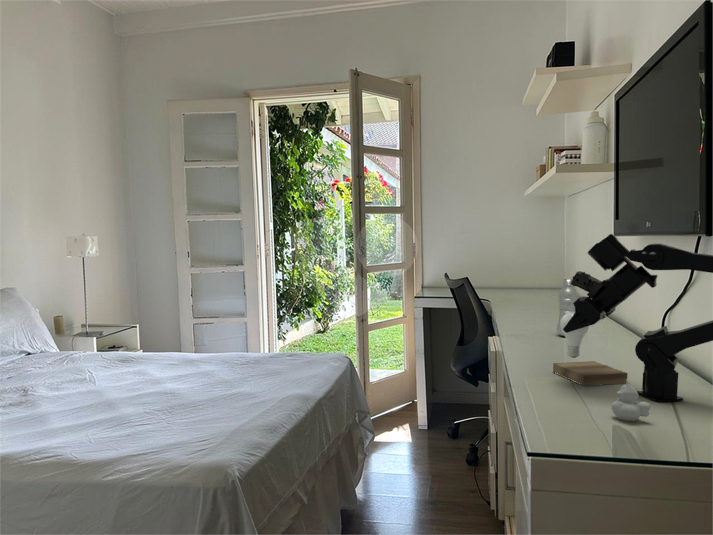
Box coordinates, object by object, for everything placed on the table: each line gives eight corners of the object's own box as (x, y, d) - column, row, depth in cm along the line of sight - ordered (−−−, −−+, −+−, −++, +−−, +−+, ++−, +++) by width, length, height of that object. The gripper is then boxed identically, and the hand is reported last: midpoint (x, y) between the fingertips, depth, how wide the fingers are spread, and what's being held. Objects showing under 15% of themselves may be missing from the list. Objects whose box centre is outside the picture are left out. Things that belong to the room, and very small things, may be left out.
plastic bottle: (552, 335, 187) (554, 279, 186) (566, 334, 190) (568, 278, 189) (566, 338, 182) (568, 280, 180) (581, 337, 184) (583, 280, 183)
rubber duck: (611, 413, 106) (612, 373, 105) (648, 418, 103) (650, 378, 102) (610, 421, 101) (612, 380, 100) (650, 427, 98) (652, 385, 98)
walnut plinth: (626, 383, 127) (627, 373, 127) (583, 386, 125) (583, 375, 125) (593, 370, 139) (594, 361, 139) (553, 372, 136) (553, 363, 136)
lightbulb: (564, 360, 124) (566, 313, 123) (555, 354, 130) (556, 309, 129) (592, 360, 123) (593, 313, 123) (581, 354, 130) (582, 310, 129)
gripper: (602, 258, 131) (555, 300, 138) (584, 261, 116) (532, 307, 123) (637, 292, 127) (586, 333, 134) (623, 300, 111) (567, 345, 118)
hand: (568, 329), depth 127 cm, fingers closed on lightbulb, 6 cm apart
